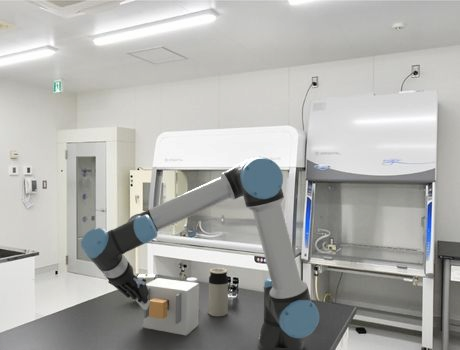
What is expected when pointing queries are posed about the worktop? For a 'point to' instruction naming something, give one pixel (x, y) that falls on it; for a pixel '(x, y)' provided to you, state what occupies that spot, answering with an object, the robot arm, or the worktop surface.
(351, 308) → the worktop surface
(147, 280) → the pneumatic valve
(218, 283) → the travel mug
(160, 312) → the button
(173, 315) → the box
